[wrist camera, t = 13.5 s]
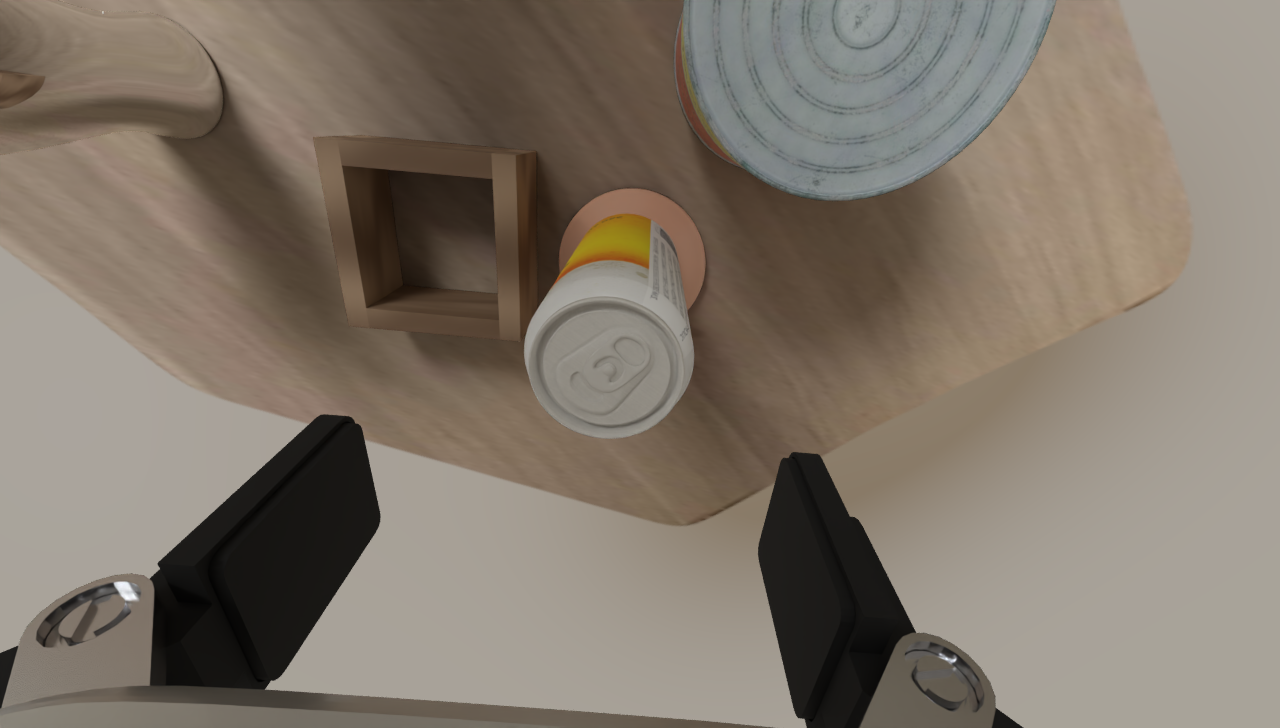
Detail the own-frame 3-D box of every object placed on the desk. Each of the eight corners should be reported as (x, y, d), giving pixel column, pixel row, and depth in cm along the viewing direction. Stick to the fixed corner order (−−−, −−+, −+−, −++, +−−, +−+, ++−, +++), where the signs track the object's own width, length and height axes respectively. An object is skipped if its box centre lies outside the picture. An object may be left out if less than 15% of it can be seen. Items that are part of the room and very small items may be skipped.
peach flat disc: (562, 181, 29) (559, 182, 28) (714, 194, 29) (715, 196, 28) (560, 323, 33) (558, 328, 32) (694, 335, 33) (695, 340, 32)
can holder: (362, 135, 28) (312, 136, 24) (536, 151, 28) (515, 155, 24) (387, 301, 33) (348, 326, 29) (537, 314, 33) (520, 341, 29)
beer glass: (259, 111, 28) (-112, 99, 14) (173, 168, 29) (-236, 205, 16) (161, -26, 25) (-406, -198, 12) (72, 43, 27) (-521, -38, 13)
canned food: (878, 162, 28) (1015, 186, 17) (679, 180, 29) (690, 214, 18) (907, -96, 23) (1123, -288, 12) (667, -66, 24) (673, -222, 13)
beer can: (557, 259, 30) (479, 368, 17) (630, 188, 28) (607, 245, 15) (626, 328, 32) (605, 476, 18) (698, 265, 30) (734, 379, 17)
